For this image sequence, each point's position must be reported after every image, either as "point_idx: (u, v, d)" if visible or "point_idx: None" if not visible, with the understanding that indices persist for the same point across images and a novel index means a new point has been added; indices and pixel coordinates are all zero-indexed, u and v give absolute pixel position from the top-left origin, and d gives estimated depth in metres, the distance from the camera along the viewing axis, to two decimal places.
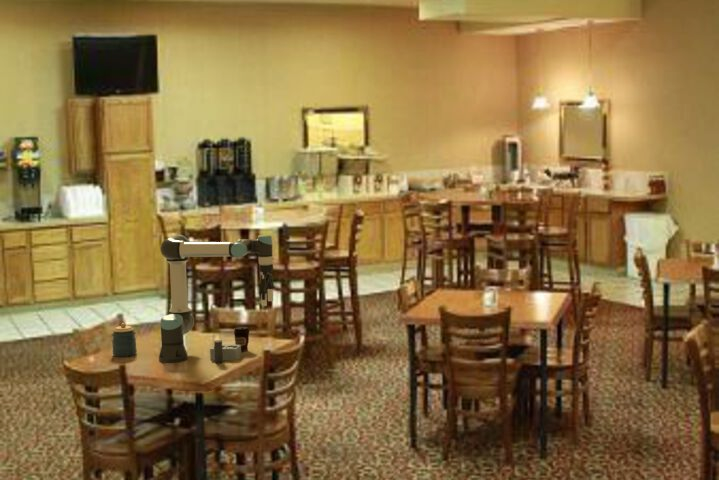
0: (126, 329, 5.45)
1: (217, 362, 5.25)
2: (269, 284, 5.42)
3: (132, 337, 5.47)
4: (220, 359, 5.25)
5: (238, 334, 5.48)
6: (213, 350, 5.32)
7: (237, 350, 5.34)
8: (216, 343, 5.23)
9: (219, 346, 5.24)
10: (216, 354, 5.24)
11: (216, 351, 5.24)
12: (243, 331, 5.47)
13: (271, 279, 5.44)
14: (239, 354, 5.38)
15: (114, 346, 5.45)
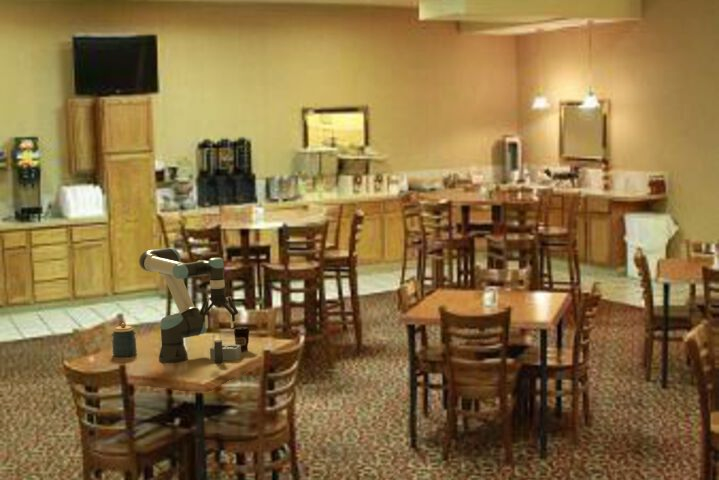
0: (126, 329, 5.45)
1: (217, 362, 5.25)
2: None
3: (132, 337, 5.47)
4: (220, 359, 5.25)
5: (238, 334, 5.48)
6: (213, 350, 5.32)
7: (237, 350, 5.34)
8: (216, 343, 5.23)
9: (219, 346, 5.24)
10: (216, 354, 5.24)
11: (216, 351, 5.24)
12: (243, 331, 5.47)
13: None
14: (239, 354, 5.38)
15: (114, 346, 5.45)
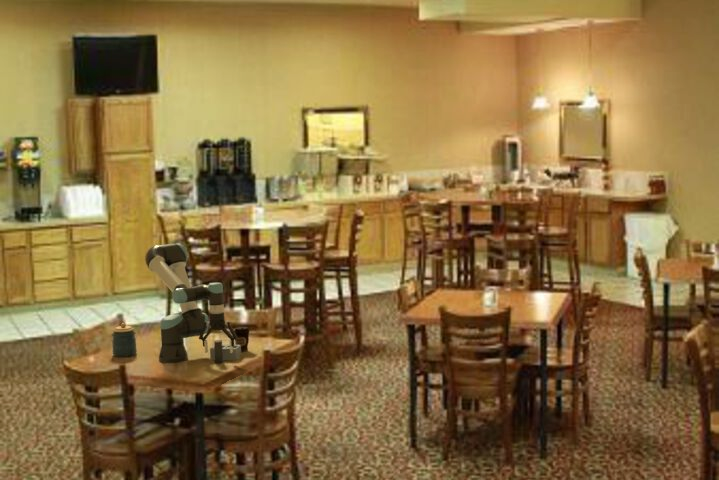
0: (126, 329, 5.45)
1: (217, 362, 5.25)
2: None
3: (132, 337, 5.47)
4: (220, 359, 5.25)
5: (238, 334, 5.48)
6: (213, 350, 5.32)
7: (237, 350, 5.34)
8: (216, 343, 5.23)
9: (219, 346, 5.24)
10: (216, 354, 5.24)
11: (216, 351, 5.24)
12: (243, 331, 5.47)
13: None
14: (239, 354, 5.38)
15: (114, 346, 5.45)
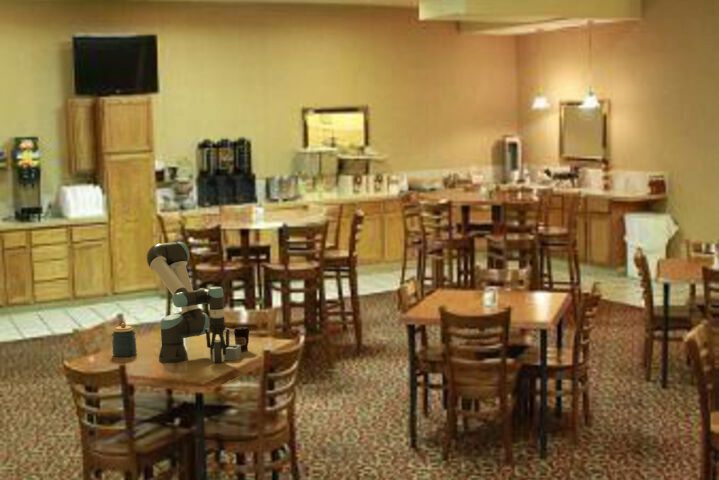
0: (126, 329, 5.45)
1: (217, 362, 5.25)
2: None
3: (132, 337, 5.47)
4: (220, 359, 5.25)
5: (238, 334, 5.48)
6: None
7: (237, 350, 5.34)
8: (216, 343, 5.23)
9: (219, 346, 5.24)
10: (216, 354, 5.24)
11: (216, 351, 5.24)
12: (243, 331, 5.47)
13: None
14: (239, 354, 5.38)
15: (114, 346, 5.45)
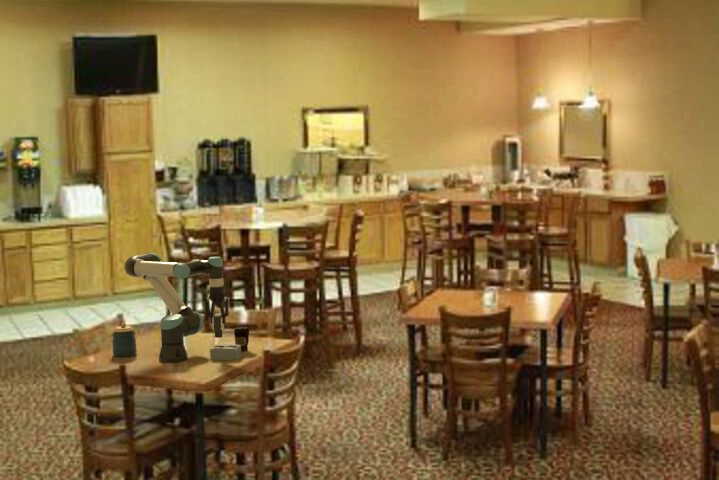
0: (126, 329, 5.45)
1: (217, 336, 5.34)
2: None
3: (132, 337, 5.47)
4: (220, 333, 5.34)
5: (238, 334, 5.48)
6: (213, 350, 5.32)
7: (237, 350, 5.34)
8: (216, 317, 5.33)
9: (219, 320, 5.33)
10: (216, 328, 5.34)
11: (215, 325, 5.34)
12: (243, 331, 5.47)
13: (225, 306, 5.32)
14: (239, 354, 5.38)
15: (114, 346, 5.45)
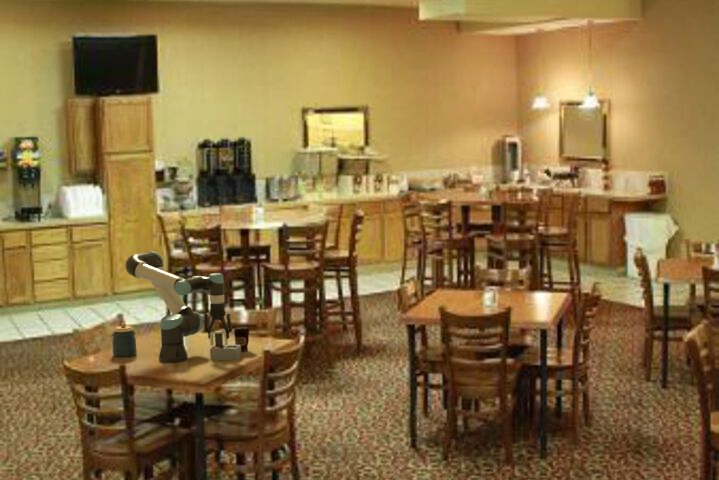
0: (126, 329, 5.45)
1: None
2: None
3: (132, 337, 5.47)
4: None
5: (238, 334, 5.48)
6: (213, 350, 5.32)
7: (237, 350, 5.34)
8: (216, 334, 5.34)
9: (219, 337, 5.35)
10: (217, 345, 5.35)
11: (216, 342, 5.35)
12: (243, 331, 5.47)
13: None
14: (239, 354, 5.38)
15: (114, 346, 5.45)
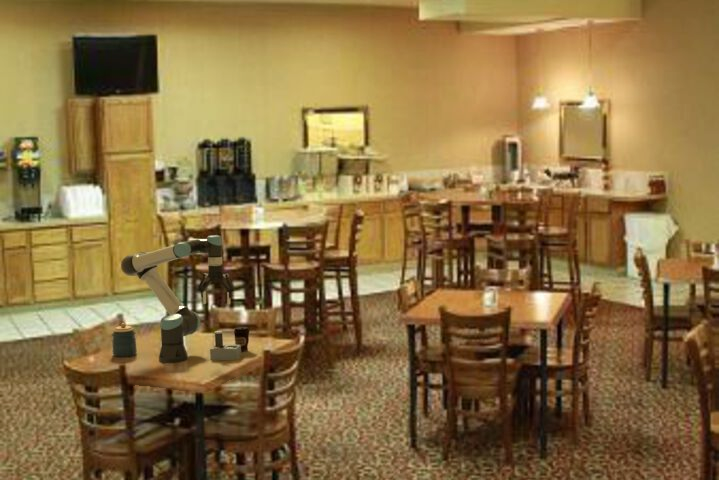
0: (126, 329, 5.45)
1: None
2: None
3: (132, 337, 5.47)
4: None
5: (238, 334, 5.48)
6: (213, 350, 5.32)
7: (237, 350, 5.34)
8: (217, 334, 5.34)
9: (219, 337, 5.35)
10: (217, 345, 5.35)
11: (216, 342, 5.35)
12: (243, 331, 5.47)
13: None
14: (239, 354, 5.38)
15: (114, 346, 5.45)
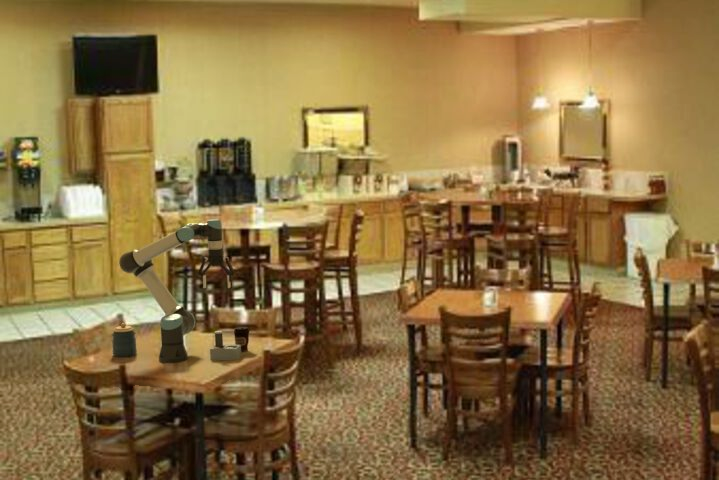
0: (126, 329, 5.45)
1: None
2: None
3: (132, 337, 5.47)
4: None
5: (238, 334, 5.48)
6: (213, 350, 5.32)
7: (237, 350, 5.34)
8: (217, 334, 5.34)
9: (219, 337, 5.35)
10: (217, 345, 5.35)
11: (216, 342, 5.35)
12: (243, 331, 5.47)
13: None
14: (239, 354, 5.38)
15: (114, 346, 5.45)
